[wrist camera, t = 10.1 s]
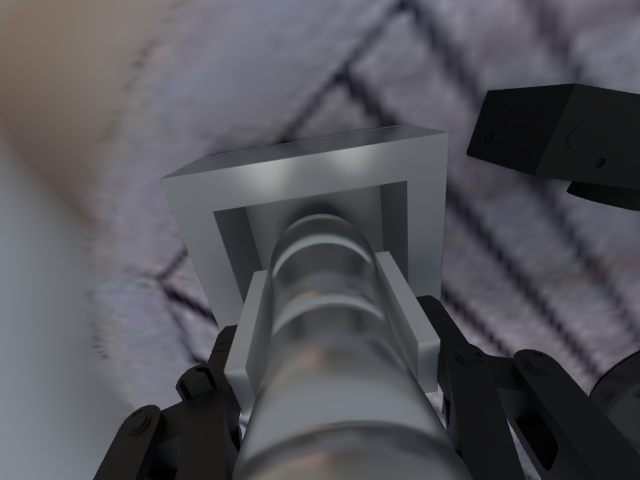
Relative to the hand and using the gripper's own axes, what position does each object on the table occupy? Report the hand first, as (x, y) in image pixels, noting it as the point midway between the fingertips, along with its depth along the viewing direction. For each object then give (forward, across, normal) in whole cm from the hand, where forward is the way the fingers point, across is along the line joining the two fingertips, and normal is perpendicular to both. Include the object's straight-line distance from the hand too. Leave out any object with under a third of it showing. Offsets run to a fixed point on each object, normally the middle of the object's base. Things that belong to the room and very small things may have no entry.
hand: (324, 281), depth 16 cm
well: (+7, 0, 0) cm, 7 cm away
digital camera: (+8, -17, -4) cm, 19 cm away
